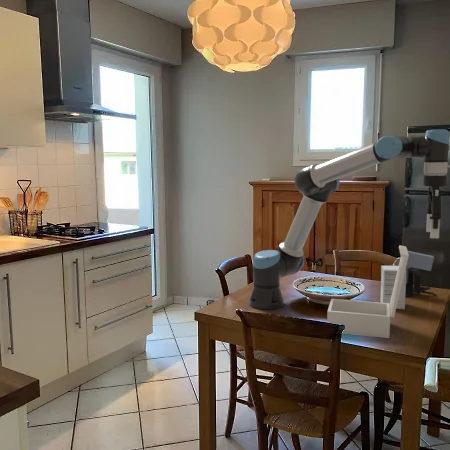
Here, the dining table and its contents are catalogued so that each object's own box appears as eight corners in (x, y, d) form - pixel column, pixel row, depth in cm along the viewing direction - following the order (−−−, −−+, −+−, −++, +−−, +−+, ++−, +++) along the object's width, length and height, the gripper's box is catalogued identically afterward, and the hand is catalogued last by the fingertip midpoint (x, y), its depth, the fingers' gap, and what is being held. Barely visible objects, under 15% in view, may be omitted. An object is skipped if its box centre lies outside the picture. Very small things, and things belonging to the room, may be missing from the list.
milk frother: (388, 293, 222) (390, 263, 220) (404, 287, 233) (406, 257, 230) (418, 300, 212) (420, 268, 210) (433, 293, 222) (435, 262, 220)
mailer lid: (401, 253, 163) (436, 261, 160) (399, 245, 178) (431, 251, 175) (386, 316, 168) (420, 324, 164) (385, 302, 183) (416, 309, 180)
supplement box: (405, 309, 199) (407, 270, 197) (382, 308, 201) (383, 270, 199) (401, 302, 208) (403, 265, 206) (379, 301, 210) (381, 264, 208)
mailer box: (327, 331, 175) (327, 311, 174) (331, 317, 190) (331, 298, 189) (389, 338, 169) (390, 316, 167) (388, 322, 184) (389, 303, 182)
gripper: (452, 176, 151) (448, 241, 154) (442, 173, 174) (439, 229, 177) (427, 176, 153) (424, 240, 156) (420, 173, 177) (418, 229, 180)
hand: (432, 234), depth 167 cm, fingers open, 13 cm apart
